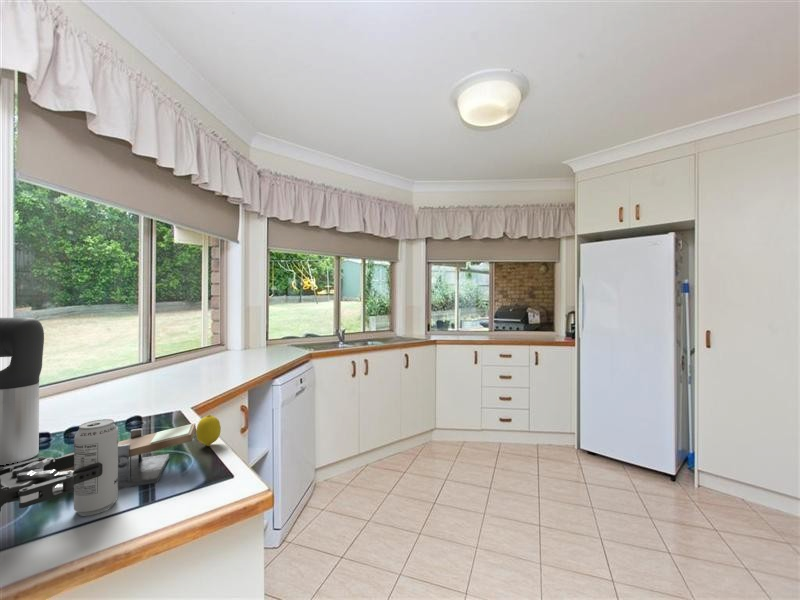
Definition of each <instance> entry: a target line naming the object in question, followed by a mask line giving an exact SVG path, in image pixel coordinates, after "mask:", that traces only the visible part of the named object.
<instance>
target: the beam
mask: <svg viewBox="0 0 800 600" xmlns="http://www.w3.org/2000/svg"><path fill="white" fill-rule="evenodd" d="M196 429H197V425H196V423H189V424H186V425H181V426H177V427H174V428H169V429H165V430H160V431H157V432H154V433H149V434H146V435H145V434H144V435H143V436H140V437H136V438H132V439H131V438H129V439H124V440H120V441H118V445H123V444H130V457H132V456H136V455H140V454H142V455H143V454H147V453H151V452H154V451H159V450H162V449H166V448H170V447H174V446H178V445H182V444H185V443H190V442H193V439H194V437H195V434H196ZM72 453H73V452H71V453H67V454H65V455H69V454H72ZM70 470H74V467H71V468H67V469H64V470H61V471H57V472H64V471H70Z"/></svg>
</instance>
